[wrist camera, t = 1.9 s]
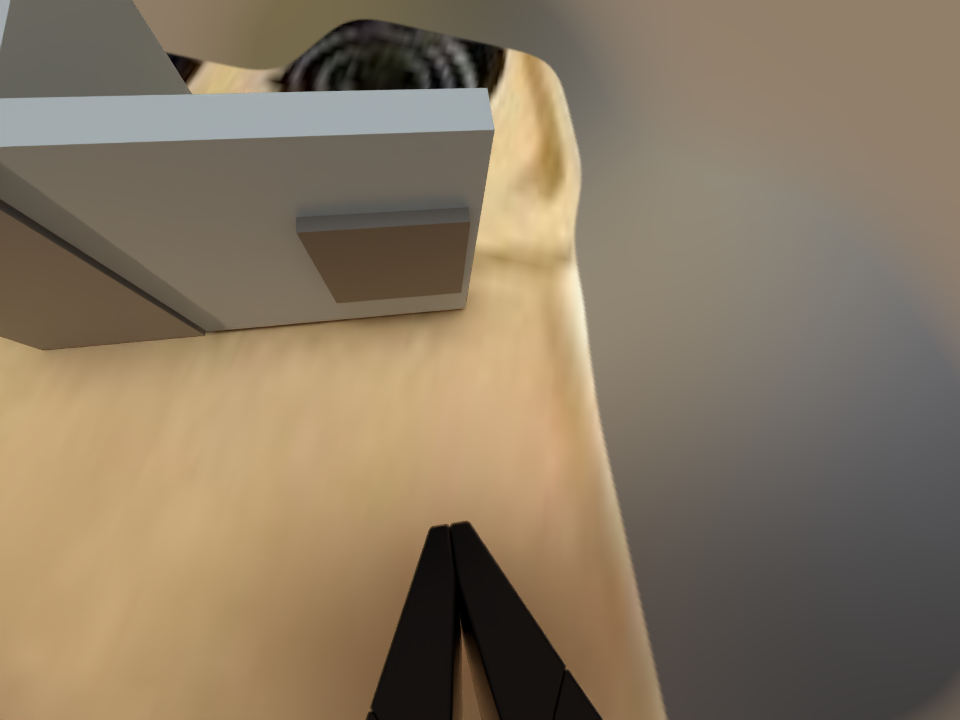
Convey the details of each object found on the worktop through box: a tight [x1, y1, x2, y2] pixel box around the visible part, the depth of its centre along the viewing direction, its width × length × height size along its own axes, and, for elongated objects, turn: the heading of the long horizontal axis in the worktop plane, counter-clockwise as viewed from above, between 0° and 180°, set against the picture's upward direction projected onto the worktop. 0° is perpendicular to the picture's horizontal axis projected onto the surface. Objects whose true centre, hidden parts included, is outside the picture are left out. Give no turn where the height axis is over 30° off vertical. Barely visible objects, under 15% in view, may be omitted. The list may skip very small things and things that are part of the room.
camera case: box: [0, 199, 205, 350], centre depth 17 cm, size 14×8×15 cm, turn 8°
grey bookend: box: [0, 0, 494, 332], centre depth 19 cm, size 12×14×13 cm
